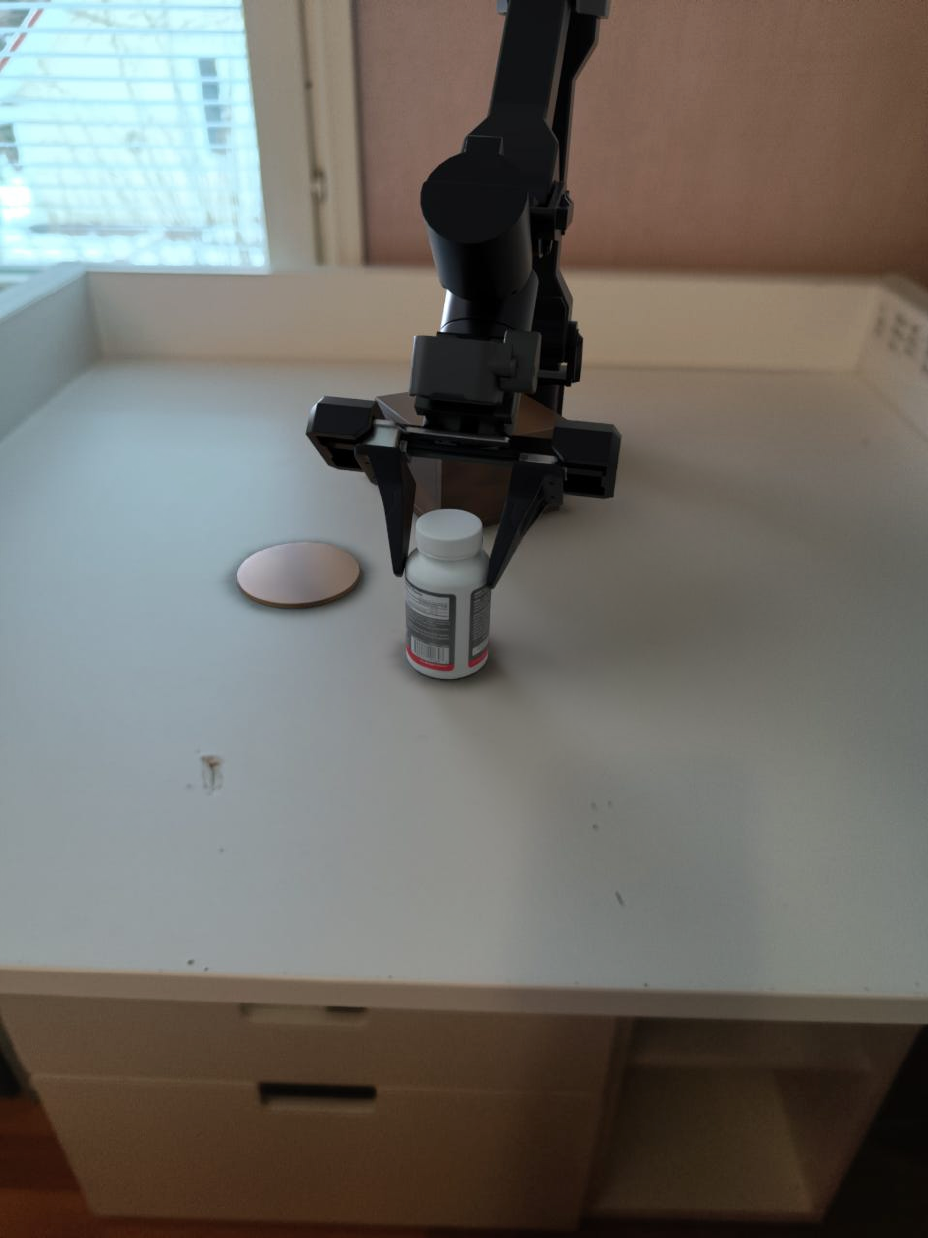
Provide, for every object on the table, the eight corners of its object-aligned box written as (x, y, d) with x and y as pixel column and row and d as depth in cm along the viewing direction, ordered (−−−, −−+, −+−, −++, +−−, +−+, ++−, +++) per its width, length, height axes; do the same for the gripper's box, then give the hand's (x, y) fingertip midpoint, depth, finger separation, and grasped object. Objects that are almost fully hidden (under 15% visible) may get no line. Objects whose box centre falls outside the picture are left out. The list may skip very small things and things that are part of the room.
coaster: (333, 537, 70) (333, 532, 70) (379, 590, 64) (379, 585, 64) (222, 561, 67) (221, 557, 66) (259, 620, 60) (258, 615, 60)
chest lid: (497, 386, 81) (497, 377, 81) (575, 433, 72) (576, 423, 72) (374, 405, 76) (374, 396, 76) (441, 458, 67) (441, 448, 67)
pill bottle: (466, 626, 60) (470, 497, 55) (502, 669, 56) (511, 534, 51) (392, 644, 58) (390, 512, 53) (425, 690, 54) (426, 552, 49)
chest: (486, 456, 85) (489, 387, 81) (559, 509, 76) (567, 434, 72) (376, 477, 80) (374, 405, 76) (440, 537, 71) (441, 458, 67)
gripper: (304, 255, 49) (247, 521, 46) (642, 280, 46) (604, 565, 43) (352, 354, 60) (309, 575, 57) (629, 379, 57) (597, 612, 54)
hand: (443, 581), depth 52 cm, fingers closed on pill bottle, 5 cm apart
